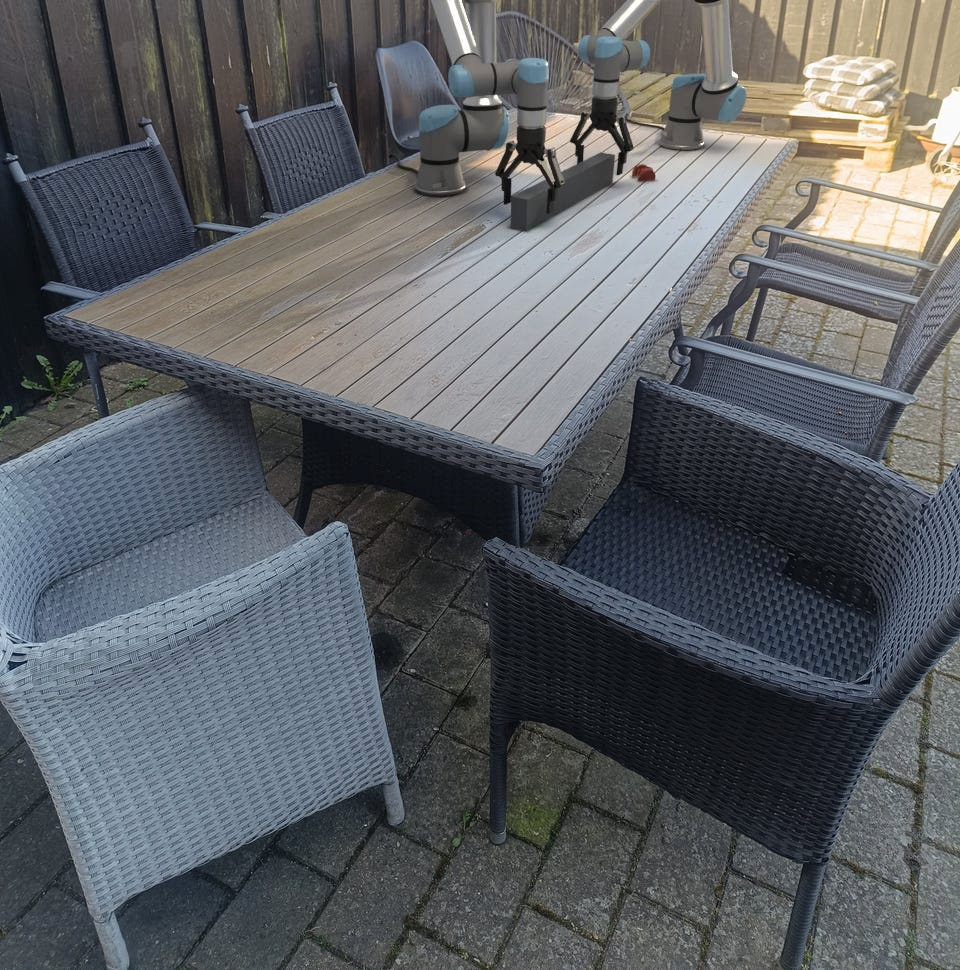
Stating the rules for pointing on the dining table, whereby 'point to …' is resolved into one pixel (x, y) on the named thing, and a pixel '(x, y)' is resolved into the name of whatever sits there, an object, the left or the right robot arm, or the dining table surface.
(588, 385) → the dining table surface
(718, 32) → the right robot arm
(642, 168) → the red irregular lump
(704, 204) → the dining table surface
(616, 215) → the dining table surface
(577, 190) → the post
